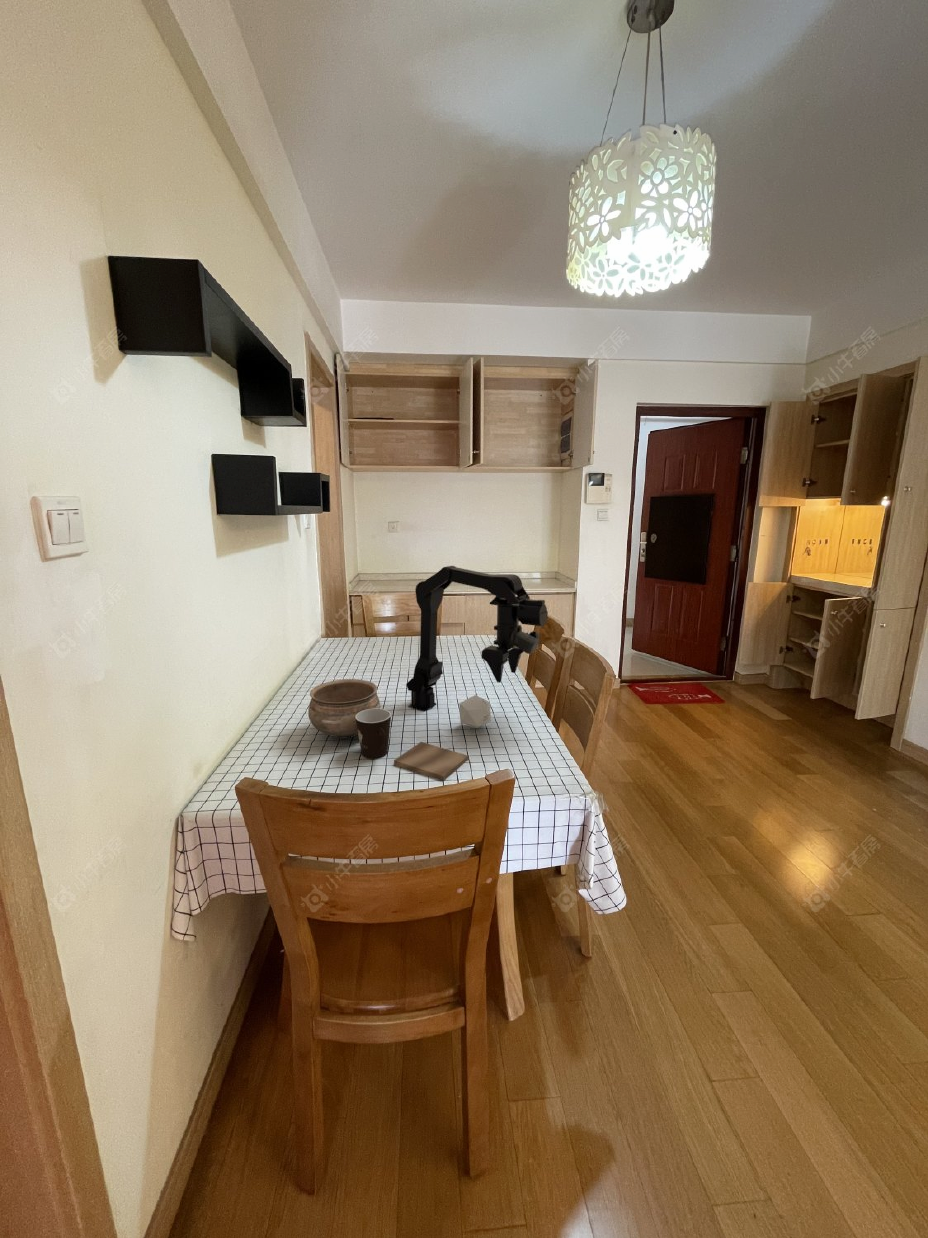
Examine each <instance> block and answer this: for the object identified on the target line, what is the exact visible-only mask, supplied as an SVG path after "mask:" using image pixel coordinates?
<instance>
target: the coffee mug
mask: <svg viewBox="0 0 928 1238" xmlns="http://www.w3.org/2000/svg"><path fill="white" fill-rule="evenodd" d="M355 718H356V724H357V730H358V734H357V735H358V741H359V746H360V751H361V752H360V753H361V756H362V758H364V759H368V760H378V759H381V758H384V757H386V756H387V755H388V753H389V745H390V744H389V741H390V731H391V730H390V729H391V720H392V713H391V712H390V711H389V710H387V709H384V708H381V709H378V708H374V709H367V710H363V711H361V712H359V713H357V714H356V716H355Z"/></svg>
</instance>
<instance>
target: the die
mask: <svg viewBox="0 0 928 1238" xmlns="http://www.w3.org/2000/svg"><path fill="white" fill-rule="evenodd" d="M458 704H459V719H460V721H459V722H460V723H461V724H462V725H465V726H468V727H470V728H471V729H474V730H476V729H478V728H480V727H482V726H484V725H487V724H488V723H490V722H491V721H492V713H491V702H490V701H489V700H487V699H485V698H483V697H480V696H479V695H476V694H475V695H472V696H471V697H469V698H467V699H465V700H463V701H460V702H459V703H458Z"/></svg>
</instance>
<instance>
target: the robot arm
mask: <svg viewBox="0 0 928 1238" xmlns="http://www.w3.org/2000/svg"><path fill="white" fill-rule="evenodd" d="M452 583H457V584H461V585H465V586H469V587H473V588H479V589H482V590H484V591H487V592H488V593H490V594H492V595H493V596H495V597H494V598H493V599H492V600H491V601H489V604H490V605H491V606H493V605H494V606H496V612H497V613H496V625H494V626H493V630H494V631H496V639H495V640H493V645H488V646H486V647H485V648H484V649H483V650H481V659H482V660H484V662H486V663H487V666H488V667H489V669H490V670H491V673H492V675H493V677H494V679H495V680H496V682H497V683H502V678H503V671H504V665H505V664H506V663H507V662H508V664H509V669H510V671H511V672H510V673H512V674H515V673H516V671H517V668H518V665H519V662H520V659H521V657H522V654H524V653H525V654H528V655H530V654H532V653H533V652H535V651H536V649H537V647H538V645H539V644H540V643H541V642H540V640H541V639H540V638H539V635H540V634H539V632H537V631H535V630H532V631H530V633H529V632H524V631H522V630H523V627H522V625H525V626H526V625H528V626H534V627H535V626H537V627H545V625H546V624H547V621H548V620H547V619H548V617H549V616H548V613H549V612H548V608H547V605H546V600H545V599H532V598H531V597H530V595H529V594H528V592H527V590H526V589H525V588H524V587H523V582H522V580H521V577H520V576H518V574H514V573H513V574H511V573H510V574H509V573H507V574H506V573H501V574H498V573H497V574H489V573H485V572H480V571H476V570H471V569H466V568H461V567H457V566H455V565H447V566H443V567H442V568H441V569H439V570H438V571H437V572H436V573H434V574H433V575H431V576H429V577H427V579H425V580H422V581H420V582H418V583H417V584H416V586H415V590H414V591H415V598H416V599H415V601H416V603H417V605H418V607H419V609H420V632H419V633H420V639H419V657H418V659H417V662H416V663H415V666H414V671H413V677H412V678H411V679H410V680H409V681H408V682H407V683H406V688H407V691H410V694H411V695H410V696H411V697H410V698H411V702H410V703H411V704H409V705H408V708H409V709H414V710H417V711H421V712H427V711H429V710H430V709H432V708H434V707H435V706H437V703H436V702H435V700H436V699H435V698H436V697H435V692H434V687H433V686H436V685H437V683H438V681H439V680H440V679H441V677H442V675H443V674H444V673H443V665H444V662H443V661H440V660H439V659H438V657H437V637H438V635H437V634H438V633H437V631H438V611H439V608H440V606H441V604H442V601H443V599H444V598H443V597H444V592H445V590H446V589H447V588H448V587H449V586H450V585H451V584H452ZM519 622H520V623H521V624H522V625H521V624H519Z"/></svg>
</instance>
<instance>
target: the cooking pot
mask: <svg viewBox="0 0 928 1238" xmlns="http://www.w3.org/2000/svg"><path fill="white" fill-rule="evenodd" d="M377 691H378V686H377V685H376V684H375V683H374V682H372V681H369V680H365V679H356V678H354V679H353V678H349V679H347V678H346V679H336V680H332V681H326V682H323V683H321V684H318V685H317V686H314V687H313V688H312V689H311V690H310V692H309V696H310V698H311V699H310V701H309V705H308V708H307V709H308V710H307V711H308V713H307V714H308V719H309V721H310V723H311V724H312V726H313V727H314V728H315V729H316V730H318V731H319V732H321V733H323V734H325V735H328V736H332V737H336V738H339V739H349V738H353V737H355V736H357V735H358V730H357V724H356V718H355V716H356V714H357V713H359V712H361V711H363V710H367V709H374V708H378V709H382V708H381V702H380V698H379V696H378V694H377Z"/></svg>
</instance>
